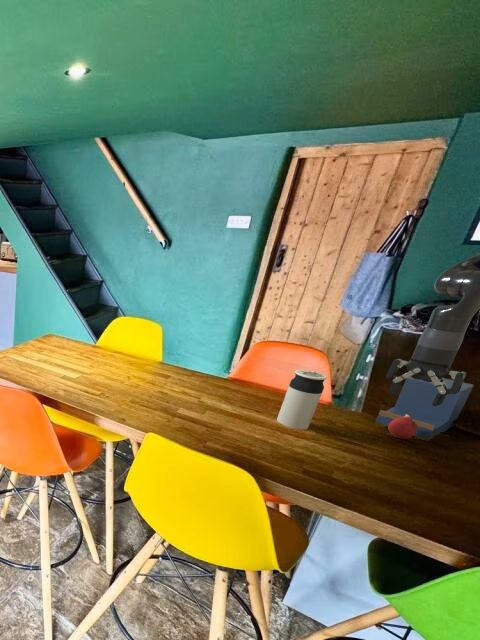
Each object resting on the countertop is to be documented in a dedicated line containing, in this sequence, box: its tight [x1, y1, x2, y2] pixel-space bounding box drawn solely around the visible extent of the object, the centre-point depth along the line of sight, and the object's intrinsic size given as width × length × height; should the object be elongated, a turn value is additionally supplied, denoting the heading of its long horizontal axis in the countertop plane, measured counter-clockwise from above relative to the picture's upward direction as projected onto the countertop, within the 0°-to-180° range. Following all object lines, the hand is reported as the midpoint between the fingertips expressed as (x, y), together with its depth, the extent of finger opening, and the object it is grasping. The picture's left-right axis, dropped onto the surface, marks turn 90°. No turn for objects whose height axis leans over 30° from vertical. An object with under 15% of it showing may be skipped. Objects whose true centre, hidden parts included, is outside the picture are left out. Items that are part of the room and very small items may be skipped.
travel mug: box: [276, 369, 328, 430], centre depth 123 cm, size 8×8×18 cm
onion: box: [387, 414, 417, 440], centre depth 118 cm, size 6×6×8 cm
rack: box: [375, 377, 475, 439], centre depth 124 cm, size 22×12×14 cm, turn 118°
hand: (413, 399), depth 115 cm, fingers open, 8 cm apart
